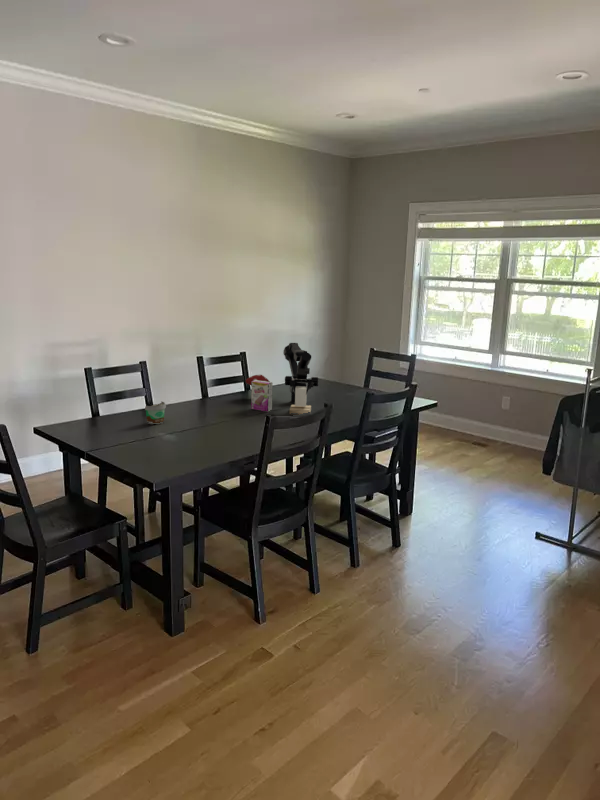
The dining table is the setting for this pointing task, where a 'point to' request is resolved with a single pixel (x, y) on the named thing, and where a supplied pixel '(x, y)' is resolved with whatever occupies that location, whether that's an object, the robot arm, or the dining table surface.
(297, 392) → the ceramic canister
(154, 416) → the food container
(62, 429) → the dining table surface
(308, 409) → the oak block
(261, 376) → the decorative mushroom
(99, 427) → the dining table surface
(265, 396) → the candy bar box
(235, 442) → the dining table surface
